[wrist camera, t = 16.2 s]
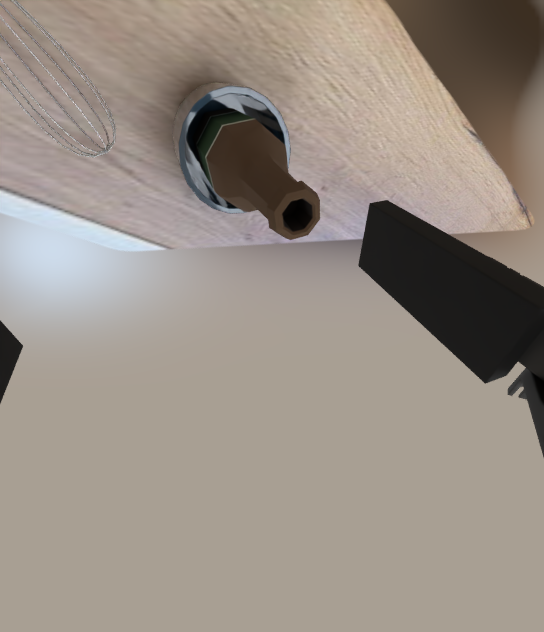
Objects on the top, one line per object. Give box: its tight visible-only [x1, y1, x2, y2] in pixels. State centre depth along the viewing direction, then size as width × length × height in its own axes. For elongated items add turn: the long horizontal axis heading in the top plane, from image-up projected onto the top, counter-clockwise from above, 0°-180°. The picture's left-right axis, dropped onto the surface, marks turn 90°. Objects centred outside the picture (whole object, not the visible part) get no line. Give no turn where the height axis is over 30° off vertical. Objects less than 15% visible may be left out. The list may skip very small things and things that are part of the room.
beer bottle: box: [193, 108, 320, 240], centre depth 27 cm, size 8×8×24 cm
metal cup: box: [173, 82, 291, 213], centre depth 34 cm, size 12×12×8 cm
